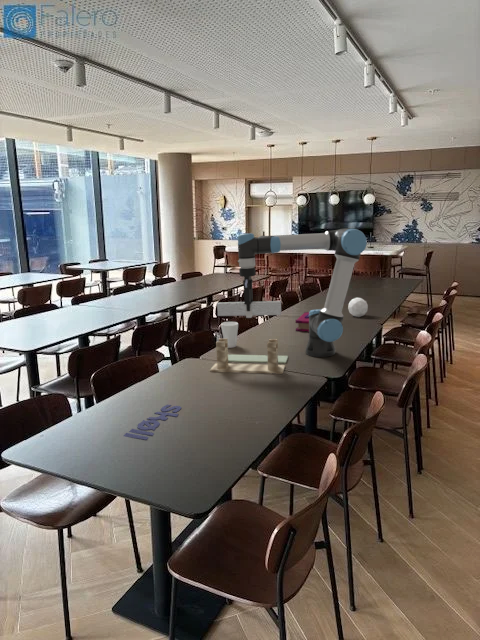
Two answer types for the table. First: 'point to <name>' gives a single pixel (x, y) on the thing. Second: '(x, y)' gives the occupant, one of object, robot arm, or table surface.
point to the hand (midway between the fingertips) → (249, 316)
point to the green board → (254, 358)
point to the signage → (152, 419)
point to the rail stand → (247, 368)
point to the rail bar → (257, 307)
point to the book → (303, 322)
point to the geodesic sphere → (357, 307)
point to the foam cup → (230, 333)
